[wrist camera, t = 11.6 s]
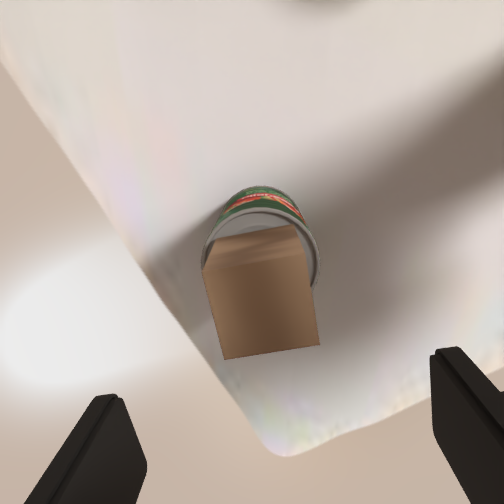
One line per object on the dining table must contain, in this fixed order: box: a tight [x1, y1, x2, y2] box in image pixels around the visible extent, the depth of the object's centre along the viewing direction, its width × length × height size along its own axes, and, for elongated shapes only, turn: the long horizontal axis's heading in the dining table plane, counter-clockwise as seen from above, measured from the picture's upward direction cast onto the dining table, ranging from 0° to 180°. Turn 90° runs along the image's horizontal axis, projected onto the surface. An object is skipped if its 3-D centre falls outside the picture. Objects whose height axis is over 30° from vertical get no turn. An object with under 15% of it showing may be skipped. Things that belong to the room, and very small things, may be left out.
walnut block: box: [202, 224, 320, 360], centre depth 20 cm, size 5×5×6 cm
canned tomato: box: [201, 186, 320, 293], centre depth 28 cm, size 8×8×11 cm
